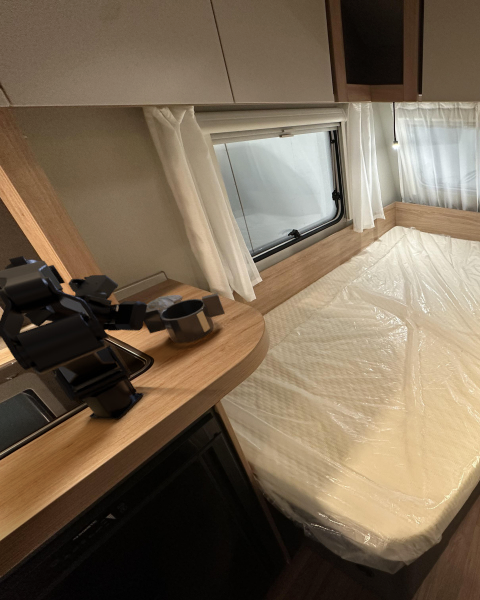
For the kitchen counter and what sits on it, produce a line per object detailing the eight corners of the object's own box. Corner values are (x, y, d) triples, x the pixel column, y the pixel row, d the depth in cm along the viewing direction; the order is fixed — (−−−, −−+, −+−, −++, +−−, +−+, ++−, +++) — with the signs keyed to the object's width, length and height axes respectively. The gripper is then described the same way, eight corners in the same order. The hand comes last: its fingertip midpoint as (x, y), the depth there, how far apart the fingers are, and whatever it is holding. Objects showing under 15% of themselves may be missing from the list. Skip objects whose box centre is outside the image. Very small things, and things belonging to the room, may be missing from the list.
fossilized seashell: (133, 315, 94) (134, 293, 92) (172, 309, 103) (173, 289, 101) (153, 330, 90) (154, 308, 88) (191, 322, 100) (193, 302, 97)
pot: (229, 330, 86) (218, 302, 81) (152, 352, 79) (135, 323, 74) (227, 313, 94) (217, 286, 89) (158, 331, 87) (143, 303, 83)
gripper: (118, 269, 63) (177, 290, 79) (35, 270, 65) (108, 291, 80) (104, 323, 61) (168, 335, 76) (17, 324, 62) (97, 335, 77)
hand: (135, 322), depth 77 cm, fingers closed
